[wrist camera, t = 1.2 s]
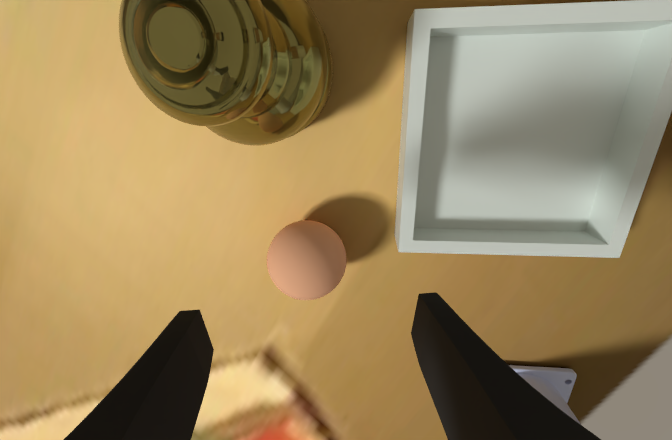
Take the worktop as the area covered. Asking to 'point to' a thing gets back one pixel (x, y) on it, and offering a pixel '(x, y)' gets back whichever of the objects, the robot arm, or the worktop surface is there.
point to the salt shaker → (230, 64)
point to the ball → (306, 260)
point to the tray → (531, 126)
